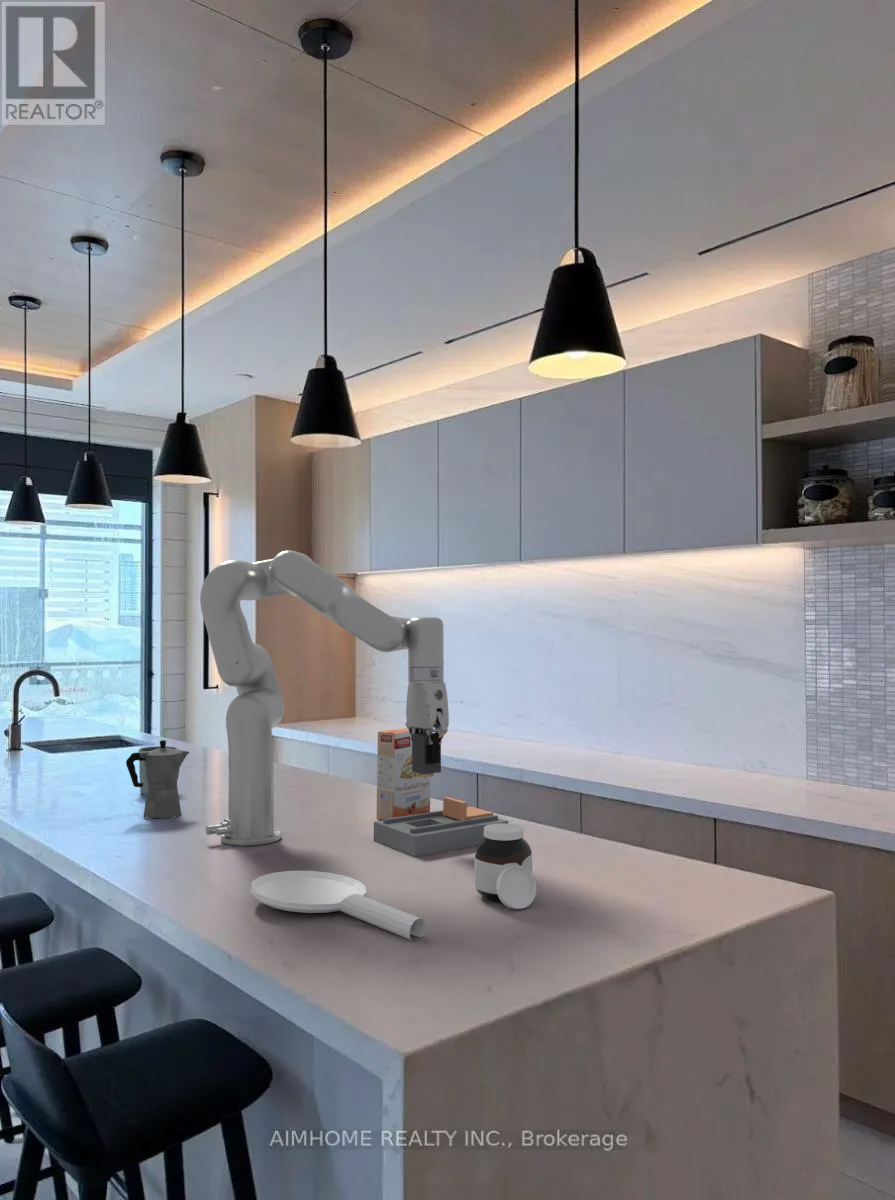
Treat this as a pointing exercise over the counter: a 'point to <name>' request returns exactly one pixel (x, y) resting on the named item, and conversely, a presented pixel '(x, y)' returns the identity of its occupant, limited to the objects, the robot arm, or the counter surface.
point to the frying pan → (331, 899)
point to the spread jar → (505, 866)
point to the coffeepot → (159, 780)
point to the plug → (422, 756)
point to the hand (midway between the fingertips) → (426, 760)
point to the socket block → (431, 832)
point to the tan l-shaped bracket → (461, 810)
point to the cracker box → (399, 777)
